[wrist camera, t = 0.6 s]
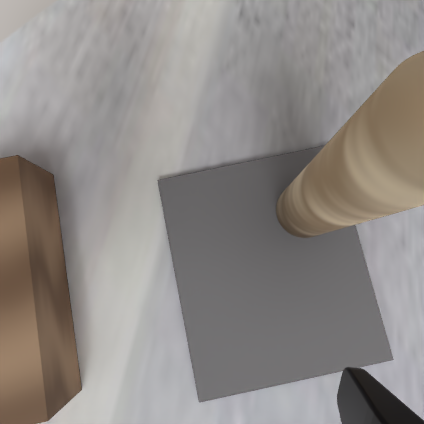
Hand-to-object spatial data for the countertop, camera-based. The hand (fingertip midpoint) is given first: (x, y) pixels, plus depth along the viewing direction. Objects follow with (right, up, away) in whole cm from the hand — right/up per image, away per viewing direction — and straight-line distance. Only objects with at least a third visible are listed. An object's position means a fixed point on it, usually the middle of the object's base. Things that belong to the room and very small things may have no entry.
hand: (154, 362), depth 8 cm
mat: (+5, 0, +13) cm, 14 cm away
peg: (+7, +4, +13) cm, 16 cm away
